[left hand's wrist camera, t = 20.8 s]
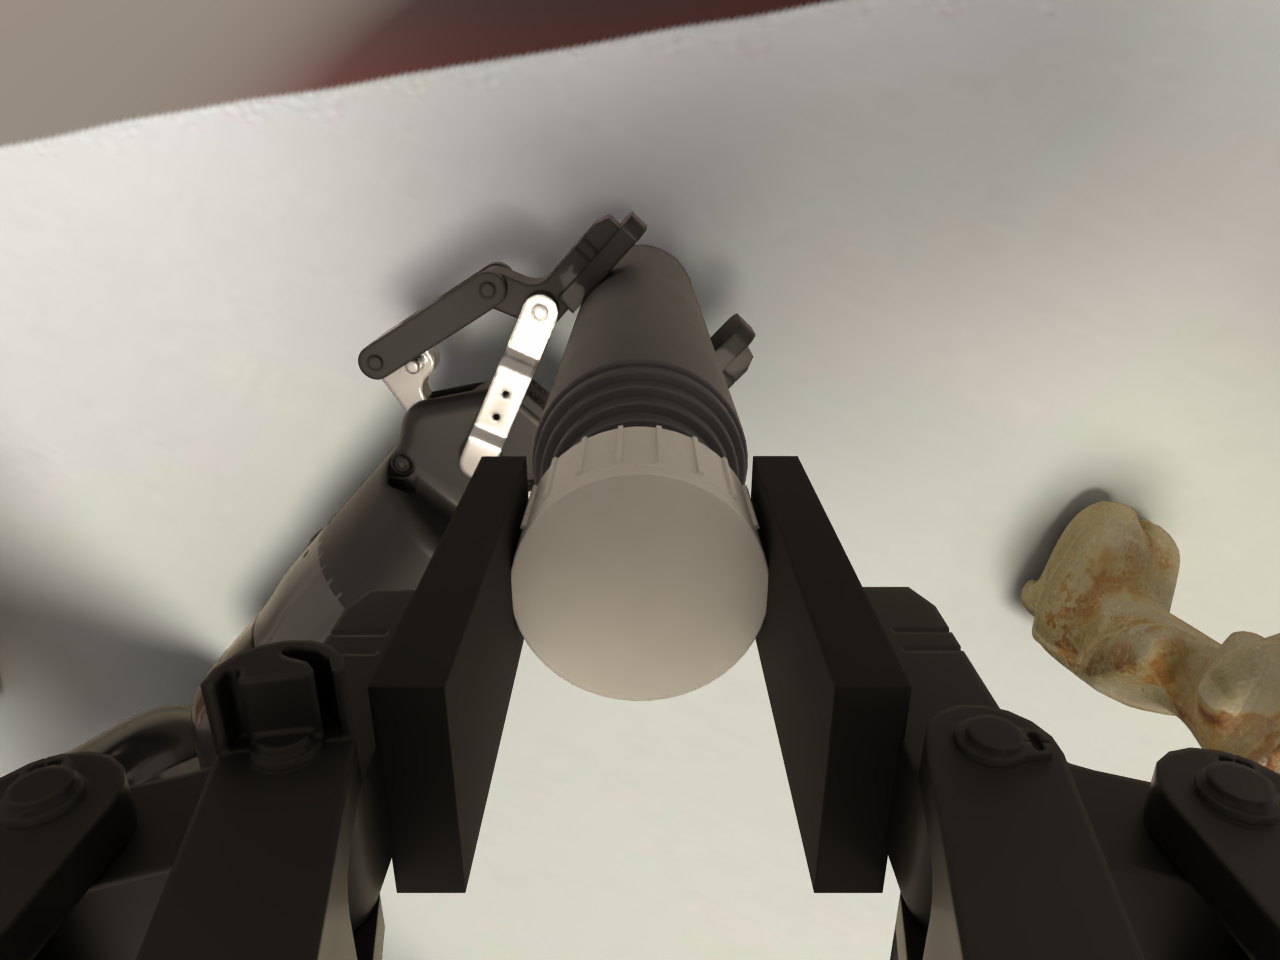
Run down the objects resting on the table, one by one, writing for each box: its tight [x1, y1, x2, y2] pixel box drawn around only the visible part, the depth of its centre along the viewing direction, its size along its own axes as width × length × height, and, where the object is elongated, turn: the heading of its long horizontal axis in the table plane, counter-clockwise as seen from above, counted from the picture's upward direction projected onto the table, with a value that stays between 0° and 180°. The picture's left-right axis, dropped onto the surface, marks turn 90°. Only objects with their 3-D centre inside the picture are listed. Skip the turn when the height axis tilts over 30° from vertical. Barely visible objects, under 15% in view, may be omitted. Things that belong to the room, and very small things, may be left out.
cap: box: [511, 425, 769, 701], centre depth 14 cm, size 4×4×2 cm
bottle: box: [532, 245, 748, 486], centre depth 25 cm, size 4×4×24 cm
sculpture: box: [1020, 501, 1280, 774], centre depth 34 cm, size 6×7×15 cm
